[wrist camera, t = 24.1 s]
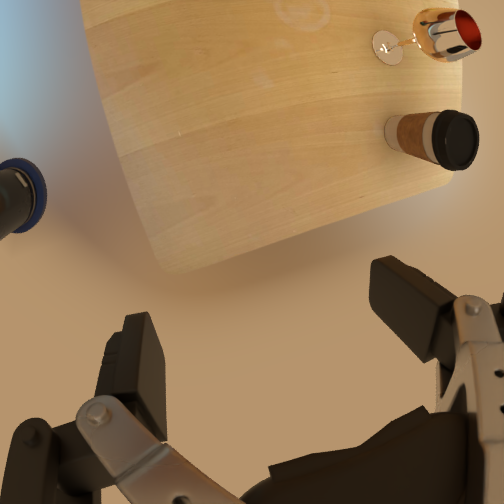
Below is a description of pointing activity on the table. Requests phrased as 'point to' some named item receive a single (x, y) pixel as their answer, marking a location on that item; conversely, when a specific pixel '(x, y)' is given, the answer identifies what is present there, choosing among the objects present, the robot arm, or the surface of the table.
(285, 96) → the table surface
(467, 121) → the coffee cup
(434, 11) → the wineglass
